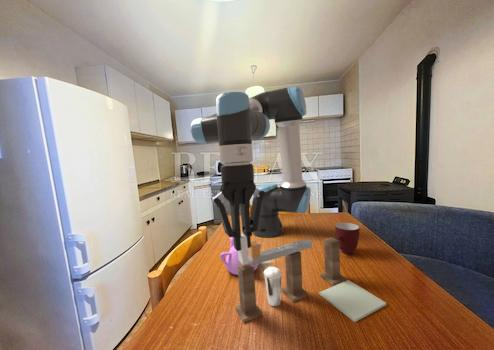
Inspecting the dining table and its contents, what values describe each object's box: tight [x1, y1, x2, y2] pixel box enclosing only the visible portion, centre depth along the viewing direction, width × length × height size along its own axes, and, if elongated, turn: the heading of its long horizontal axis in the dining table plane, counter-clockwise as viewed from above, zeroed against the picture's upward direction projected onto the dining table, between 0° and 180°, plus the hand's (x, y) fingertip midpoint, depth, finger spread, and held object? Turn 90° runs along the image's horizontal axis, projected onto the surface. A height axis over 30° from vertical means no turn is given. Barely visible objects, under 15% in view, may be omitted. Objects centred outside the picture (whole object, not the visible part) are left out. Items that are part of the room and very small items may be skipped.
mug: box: [334, 222, 360, 255], centre depth 79 cm, size 10×8×10 cm
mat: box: [318, 279, 387, 323], centre depth 55 cm, size 11×11×1 cm
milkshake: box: [259, 266, 283, 307], centre depth 56 cm, size 4×5×10 cm
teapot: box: [219, 236, 262, 276], centre depth 74 cm, size 12×14×9 cm
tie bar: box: [248, 238, 313, 265], centre depth 56 cm, size 2×18×5 cm, turn 115°
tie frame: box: [234, 237, 346, 323], centre depth 58 cm, size 5×33×12 cm, turn 115°
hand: (243, 261), depth 52 cm, fingers closed
